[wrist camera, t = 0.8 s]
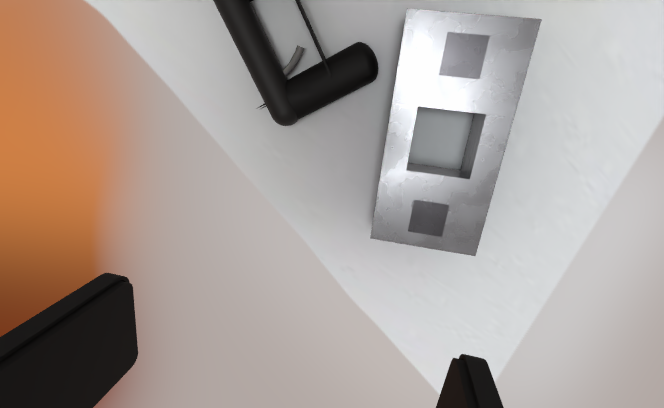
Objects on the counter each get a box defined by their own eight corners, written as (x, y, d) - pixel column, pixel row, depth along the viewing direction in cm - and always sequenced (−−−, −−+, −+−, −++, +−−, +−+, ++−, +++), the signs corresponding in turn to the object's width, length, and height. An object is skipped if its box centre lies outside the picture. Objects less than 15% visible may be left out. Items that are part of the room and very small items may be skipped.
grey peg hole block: (405, 20, 30) (407, 8, 26) (521, 29, 28) (542, 18, 24) (372, 223, 36) (370, 238, 32) (466, 239, 35) (475, 256, 31)
